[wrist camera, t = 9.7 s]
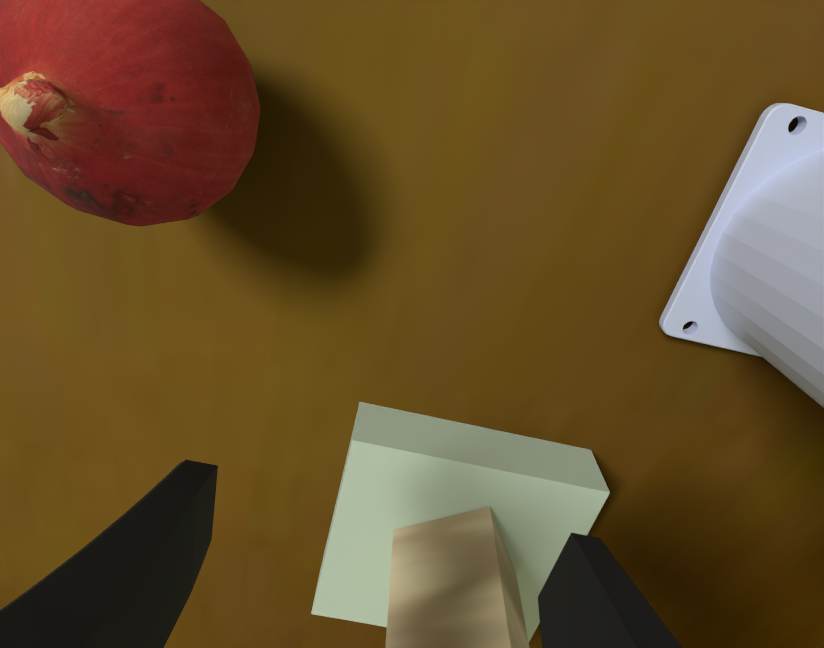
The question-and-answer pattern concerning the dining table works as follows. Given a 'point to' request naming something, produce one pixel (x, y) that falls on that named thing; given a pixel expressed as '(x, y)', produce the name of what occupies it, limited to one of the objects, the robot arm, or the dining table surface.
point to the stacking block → (449, 503)
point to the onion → (126, 104)
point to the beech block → (454, 586)
